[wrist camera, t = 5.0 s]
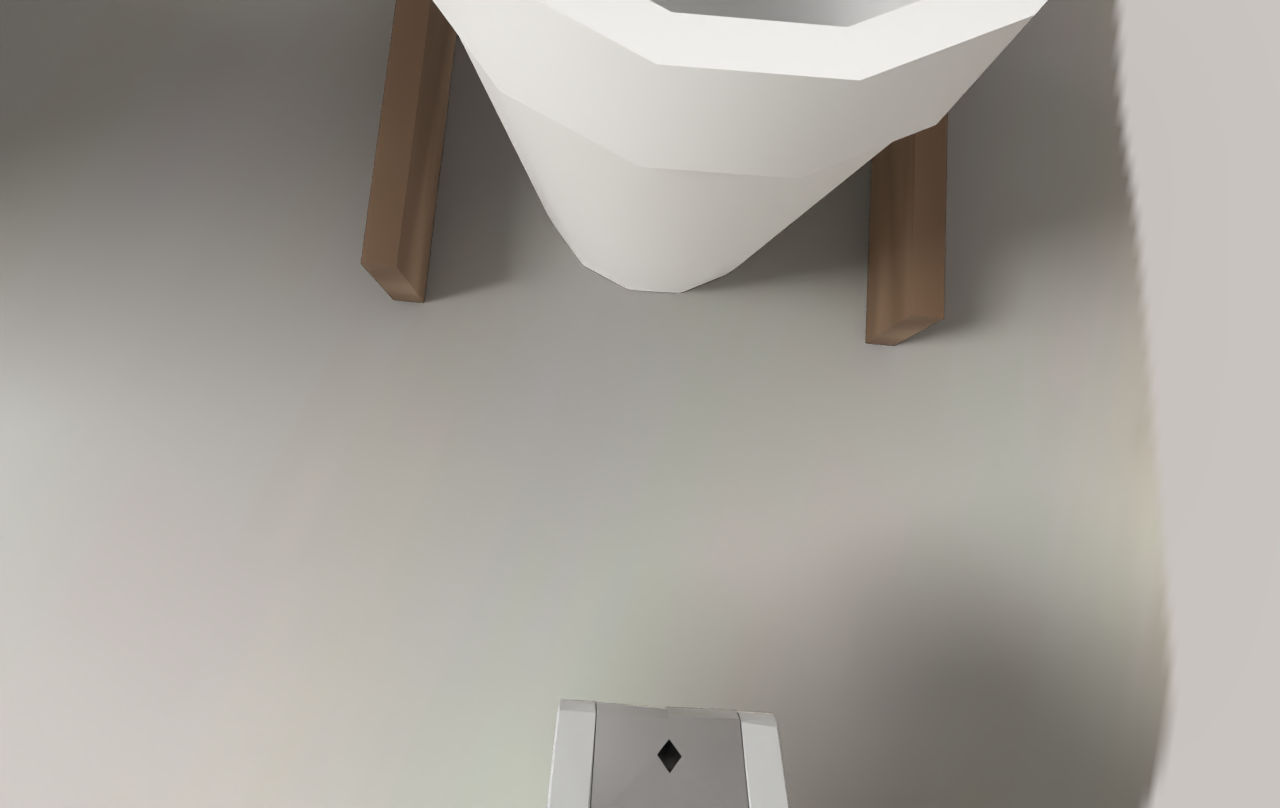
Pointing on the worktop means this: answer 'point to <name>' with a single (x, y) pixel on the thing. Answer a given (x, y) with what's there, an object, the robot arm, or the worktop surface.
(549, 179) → the foam cup
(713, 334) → the worktop surface
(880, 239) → the channel
